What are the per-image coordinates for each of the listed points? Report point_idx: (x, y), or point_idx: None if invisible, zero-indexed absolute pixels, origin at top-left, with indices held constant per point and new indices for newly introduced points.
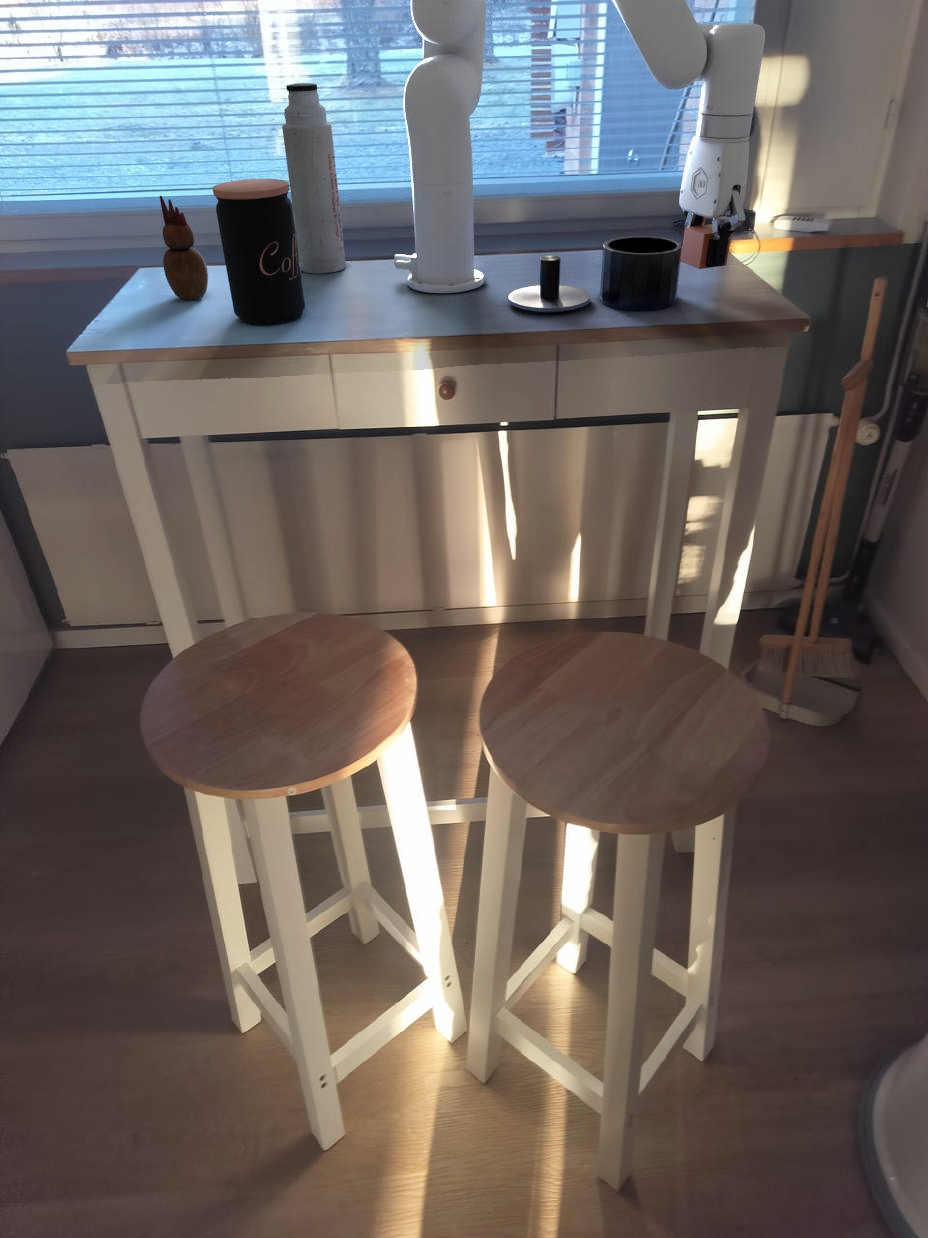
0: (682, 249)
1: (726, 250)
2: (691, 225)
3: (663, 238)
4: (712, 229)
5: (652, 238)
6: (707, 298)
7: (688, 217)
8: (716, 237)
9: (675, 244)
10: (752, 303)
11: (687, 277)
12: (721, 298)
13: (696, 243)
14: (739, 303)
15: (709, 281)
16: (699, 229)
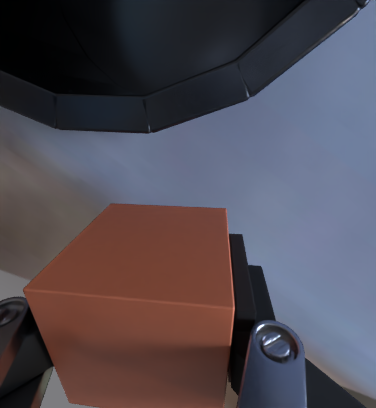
0: (223, 230)
1: None
2: (244, 354)
3: (207, 90)
4: (10, 342)
5: (288, 14)
6: (109, 187)
7: (287, 405)
8: (4, 309)
9: (34, 81)
10: (46, 241)
11: (289, 256)
12: (98, 213)
13: (114, 251)
14: (52, 221)
15: None
16: (137, 331)
